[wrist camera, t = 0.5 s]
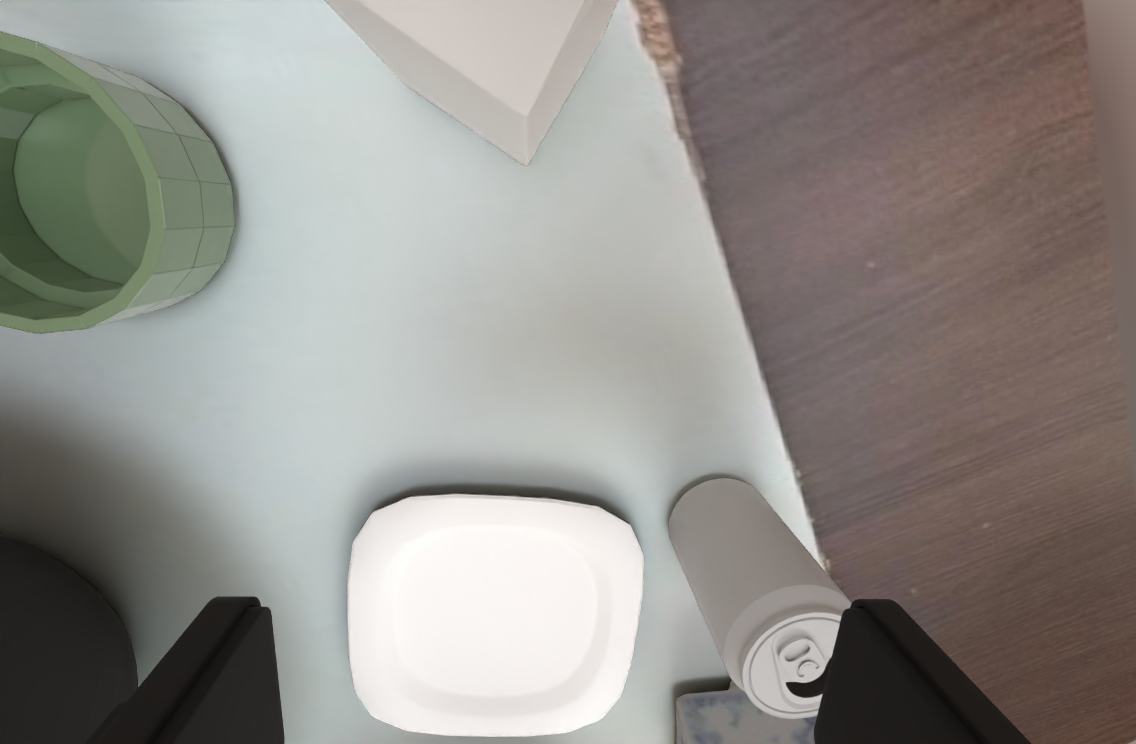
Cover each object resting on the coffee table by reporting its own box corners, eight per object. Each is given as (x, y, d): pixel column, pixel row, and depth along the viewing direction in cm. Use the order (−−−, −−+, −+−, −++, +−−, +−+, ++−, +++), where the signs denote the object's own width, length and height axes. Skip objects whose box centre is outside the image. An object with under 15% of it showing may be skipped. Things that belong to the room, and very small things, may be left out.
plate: (355, 715, 37) (347, 738, 35) (353, 475, 32) (343, 489, 30) (616, 718, 38) (620, 740, 37) (653, 492, 33) (659, 506, 32)
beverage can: (695, 577, 36) (776, 751, 24) (646, 506, 34) (708, 658, 22) (780, 527, 35) (904, 681, 23) (734, 453, 33) (844, 580, 22)
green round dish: (45, 13, 24) (-104, -49, 19) (281, 167, 27) (213, 154, 21) (-41, 224, 26) (-199, 227, 21) (184, 348, 29) (99, 382, 23)
